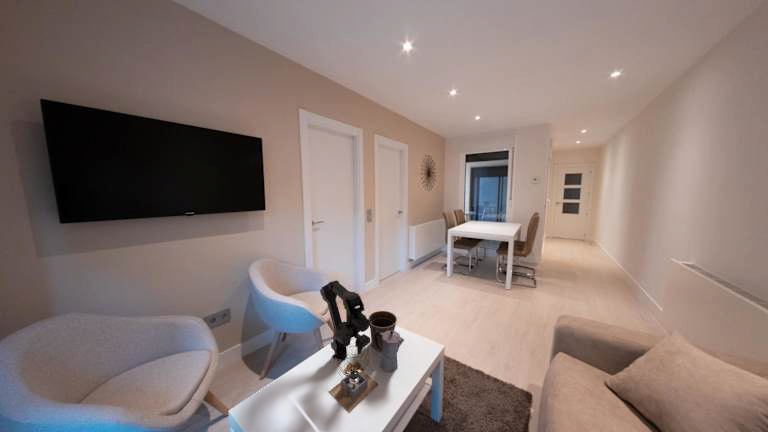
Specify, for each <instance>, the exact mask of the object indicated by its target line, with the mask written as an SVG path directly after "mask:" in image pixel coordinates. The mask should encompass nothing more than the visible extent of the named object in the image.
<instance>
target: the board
mask: <svg viewBox="0 0 768 432" xmlns="http://www.w3.org/2000/svg"><path fill="white" fill-rule="evenodd" d="M360 374H361V375H362V376H364V377H365V378H366V379H367V380H368V387H367V388H366V389H365V390H364V391H363V392H362V393H361V394H360V395H359V396H358V397H357V398H356V399H355V400H352V399H351V398H350V397H349V396H345V395H344V394H343V390H342V389H341V381H340V382H339V383H337V384H336V385H335V386H334V387H333V388H331V389H330V390H329V391H328V393H329V395H331V397H332V398H333V399H334V400H336V402H337V403H338V404H339V405H340V406H341V407H342V408H343V409H344V410H345V411H346V412H347V413H348V414H351V412H352V411H353V410H354V409H356V407H357V406H359V404H361V403H362V402H363V401H364V400H365V399H366V398H367V397H368V396H369V395H370V394H371V393H372V392H373V391H374V390H375V389H376V388H377V387H378V386H379V385H380V384H379V383H378V382H377V381H376V380H375V379H373V378H372V377H371V376H370V375H368V373H366V372H365V371H363V370H362V372H361V373H360Z"/></svg>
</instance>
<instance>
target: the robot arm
mask: <svg viewBox="0 0 768 432" xmlns="http://www.w3.org/2000/svg"><path fill="white" fill-rule="evenodd" d="M319 292H320V295H321V297H322V300H323V301H324V302H325V303H326V305H327V307H328V312H329V314H330V319H331V323H332V327H333V330H334V331H333V336H332V339H333V341H331V342H330V348H331V349H332V350H333V352H334V353H333V355H331V357H332V359H334V360H337V361H338V360H339V361H340V360H341V361H345V360H346V359H347V358H348V352H347V347H348V346H350V345H351V341H352V338H354V339H355V341H354V342H355V343H354V344H355V345H354V346H355V347H356V349H357V356H360V355H361V353H362V351H363V350H364V348H365V347H366V346H368V345H369V344H371V336H368V335H366V334H365V333H363V332H366V331H367V330H368V329H370V326H369V325H370V321H369V320H368V318H367V316H366V315H365V314H364V313H363V311H365V310H366V309H365V305H364V302H363V300H362V298H361V295H360V294H359V293H357V292H355V291H349V290H348V288H346V287H344V286H343V285H342V284H341V283H340V282H339V280H333V281H329V282H328V283H327V284H325V285H324V286H322V287H321V288H320V291H319ZM338 297H339V299H341V301H342V305H343V307H344V309H345V314H346V315H345V318H346V319H345V320H346V321H342V317H341V314H340V310H339V306H338V303H337V298H338ZM361 332H362V333H363V334H360V333H361ZM345 358H346V359H345Z"/></svg>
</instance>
